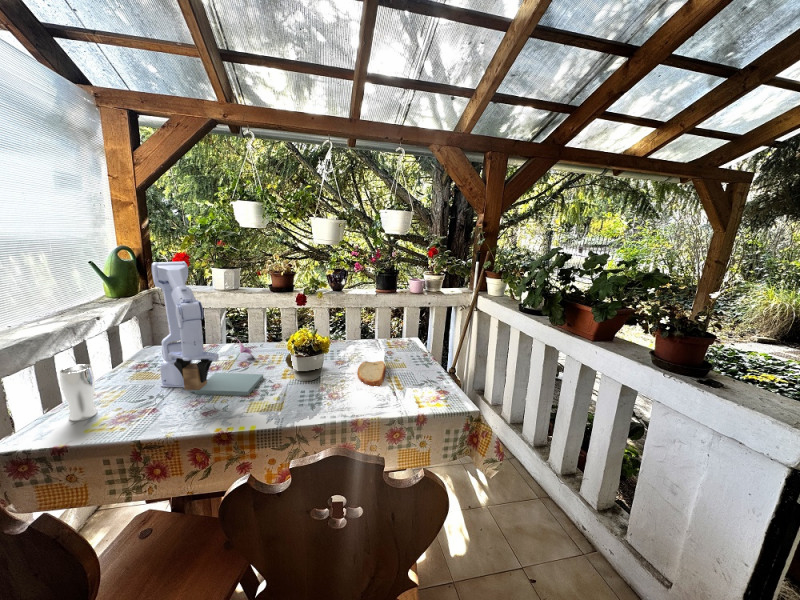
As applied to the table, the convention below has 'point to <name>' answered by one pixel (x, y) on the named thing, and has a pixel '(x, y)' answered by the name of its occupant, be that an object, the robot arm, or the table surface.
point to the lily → (244, 349)
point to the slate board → (230, 384)
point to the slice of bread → (372, 373)
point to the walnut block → (192, 377)
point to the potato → (289, 361)
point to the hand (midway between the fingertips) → (195, 381)
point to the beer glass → (79, 391)
